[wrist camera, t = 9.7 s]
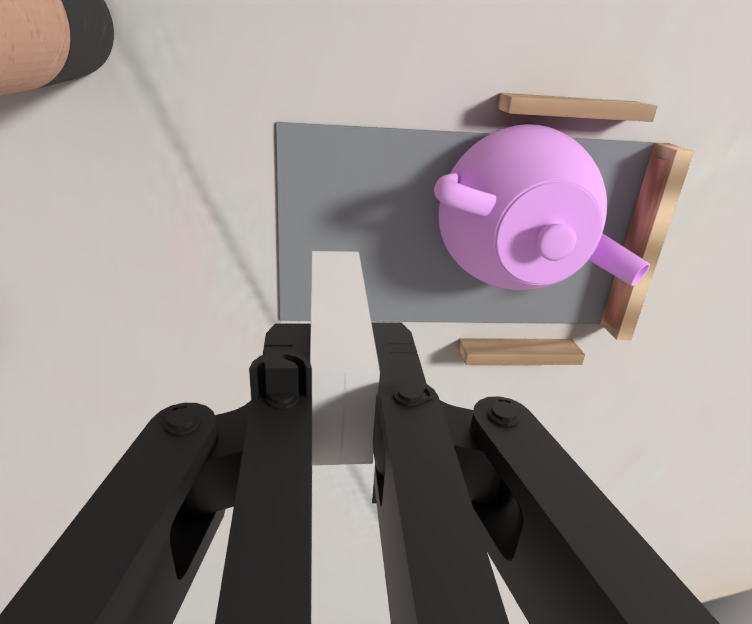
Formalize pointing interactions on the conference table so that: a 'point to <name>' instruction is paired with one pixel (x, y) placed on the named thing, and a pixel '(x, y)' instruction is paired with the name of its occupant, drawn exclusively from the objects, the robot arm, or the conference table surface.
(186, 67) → the conference table surface
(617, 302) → the bay
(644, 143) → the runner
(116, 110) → the conference table surface
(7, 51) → the travel mug
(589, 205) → the teapot
